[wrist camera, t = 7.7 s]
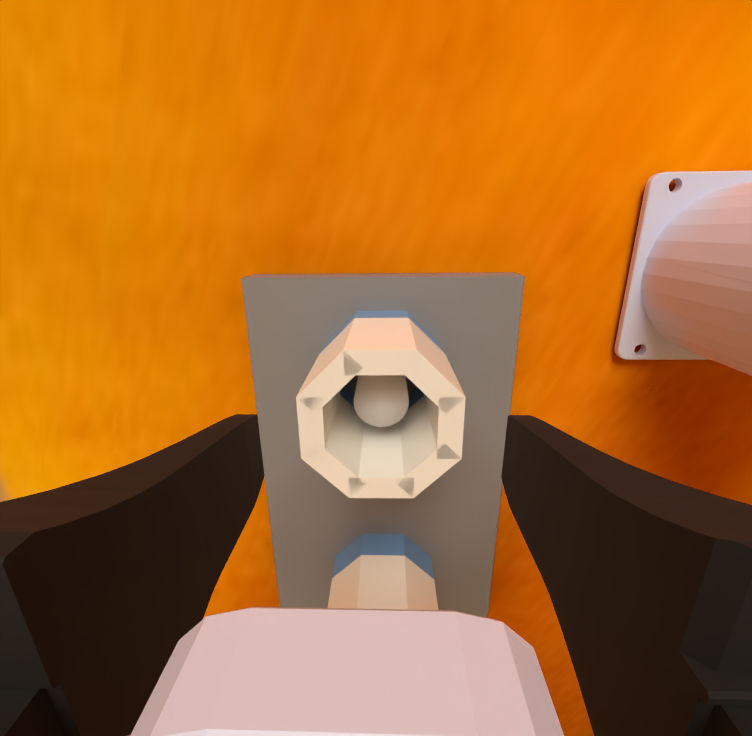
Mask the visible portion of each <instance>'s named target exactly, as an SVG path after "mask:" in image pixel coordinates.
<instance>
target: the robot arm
mask: <svg viewBox="0 0 752 736" xmlns="http://www.w3.org/2000/svg"><path fill="white" fill-rule="evenodd" d="M672 180H674V181H675V188H674V190H673V191H672V192H671V191H670V190H669V184H670V182H671V181H672ZM640 344H641V349H640V350H639V351H638V352H636V353H635V351H634V350H635V348H636V346H638V345H640ZM614 349H615V353H616V355H617V356H619V357H620V358H622V359H626V360H713V361H715V362H718V363H720V364H723V365H725V366H728V367H730V368H733V369H735V370H738V371H740V372H743V373H745V374H748V375H750V376H752V171H706V172H663V173H658V174H655V175H653V176H652V177H650V178H649V180H648V181H647V183H646V186H645V190H644V196H643V201H642V206H641V211H640V217H639V222H638V227H637V232H636V238H635V243H634V248H633V253H632V259H631V264H630V269H629V274H628V280H627V285H626V290H625V295H624V300H623V306H622V311H621V316H620V321H619V327H618V332H617V337H616V342H615V348H614ZM501 478H502V482H503V485H504V489H505V492H506V496H507V499H508V502H509V505H510V508H511V510H512V513H513V515H514V517H515V519H516V522H517V524H518V526H519V528H520V530H521V533H522V535H523V537H524V539H525V541H526V543H527V545H528V548H529V550H530V552H531V554H532V556H533V558H534V560H535V563H536V565H537V567H538V569H539V571H540V573H541V575H542V578H543V580H544V582H545V585H546V587H547V590H548V592H549V594H550V597H551V600H552V603H553V606H554V609H555V612H556V615H557V617H558V620H559V623H560V626H561V629H562V632H563V635H564V638H565V641H566V644H567V647H568V651H569V654H570V657H571V660H572V663H573V666H574V669H575V672H576V676H577V679H578V682H579V685H580V689H581V692H582V695H583V699H584V702H585V706H586V709H587V712H588V716H589V719H590V723H591V726H592V729H593V733H594V736H752V505H749V504H745V503H742V502H738V501H734V500H731V499H727V498H724V497H720V496H717V495H713V494H710V493H707V492H704V491H701V490H697V489H694V488H691V487H688V486H685V485H682V484H679V483H676V482H673V481H670V480H667V479H665V478H662V477H659V476H657V475H654V474H652V473H649V472H647V471H644V470H641V469H639V468H636V467H634V466H632V465H629V464H627V463H625V462H623V461H620V460H618V459H616V458H614V457H612V456H610V455H608V454H605V453H603V452H601V451H599V450H597V449H595V448H593V447H591V446H589V445H587V444H585V443H583V442H582V441H580V440H578V439H576V438H574V437H572V436H570V435H568V434H566V433H565V432H563V431H561V430H559V429H557V428H555V427H553V426H552V425H550V424H548V423H546V422H544V421H542V420H540V419H537V418H535V417H533V416H530V415H508V419H507V428H506V438H505V447H504V456H503V466H502V475H501ZM263 479H264V467H263V458H262V450H261V441H260V433H259V424H258V416H257V415H242V414H237V415H234V416H231V417H228V418H226V419H224V420H222V421H219V422H217V423H215V424H213V425H211V426H209V427H207V428H205V429H204V430H202V431H200V432H198V433H196V434H194V435H192V436H190V437H188V438H186V439H184V440H182V441H180V442H178V443H175V444H173V445H171V446H169V447H167V448H165V449H163V450H161V451H158V452H156V453H154V454H152V455H150V456H148V457H145V458H143V459H141V460H138V461H136V462H133V463H131V464H128V465H126V466H123V467H120V468H118V469H115V470H112V471H110V472H107V473H104V474H101V475H98V476H95V477H92V478H88V479H85V480H82V481H79V482H75V483H72V484H69V485H66V486H62V487H59V488H56V489H52V490H49V491H45V492H41V493H37V494H33V495H29V496H25V497H21V498H17V499H12V500H8V501H4V502H0V736H564V734H563V731H562V728H561V725H560V722H559V720H558V717H557V714H556V711H555V708H554V705H553V702H552V699H551V697H550V694H549V691H548V688H547V685H546V682H545V679H544V676H543V673H542V671H541V668H540V665H539V662H538V659H537V656H536V653H535V650H534V648H533V647H532V646H531V645H530V644H529V643H527V642H526V641H525V640H524V639H523V638H521V637H520V636H519V635H518V634H516V633H515V632H514V631H513V630H512V629H510V628H509V627H508V626H507V625H506V624H504V623H503V622H501V621H498V620H495V619H491V618H486V617H482V616H477V615H473V614H468V613H464V612H459V611H454V610H404V609H349V608H294V607H251V608H245V609H240V610H235V611H230V612H224V613H219V614H214V615H210V616H206V617H205V618H204V619H203V617H204V614H205V611H206V609H207V606H208V603H209V601H210V598H211V595H212V593H213V590H214V588H215V585H216V583H217V581H218V579H219V577H220V574H221V572H222V570H223V568H224V566H225V564H226V562H227V560H228V558H229V556H230V554H231V552H232V550H233V548H234V546H235V544H236V542H237V540H238V538H239V536H240V534H241V532H242V530H243V528H244V526H245V524H246V522H247V520H248V518H249V516H250V514H251V512H252V510H253V508H254V506H255V503H256V500H257V497H258V494H259V492H260V488H261V485H262V482H263ZM202 619H203V620H202Z"/></svg>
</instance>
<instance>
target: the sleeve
mask: <svg viewBox="0 0 752 736" xmlns="http://www.w3.org/2000/svg"><path fill="white" fill-rule="evenodd" d="M355 375H405V376H406V377H407V378H408V379H410V380H411V381H412V382H413V383H414V384H415V385H416V386H417V387H416V388H415V389H414V390H413V391H412V392H410V393H409V394H408V398H409V406H408V410H407V412H406V414H405V415H404V417H403V418H402V419H401V420H400V421H399V422H397V423H395V424H393V425H391V426H387V427H376V426H372V425H369V424H367V423H366V422H364V421H363V420H362V419H361V418H360V417H359V416H358V415H357V413H356V411H355V408H354V395H355V392H354V391H353V390H351V389H350V388H349V387H348V386H347V385H346V384H347V383H348V382H349V381H350V380H351V379H352V378H353V377H354V376H355ZM465 399H466V397H465V395H464V393H463V391H462V388H461V386H460V384H459V382H458V380H457V378H456V376H455V374H454V371H453V369H452V367H451V365H450V363H449V361H448V359H447V357H446V355H445V352H444V350H443V348H442V346H441V344H440V343H439V342H438V341H437V340H436V339H435V338H434V337H433V336H432V335H431V334H430V333H429V332H428V331H427V330H426V329H425V328H424V327H423V326H422V325H421V324H420V323H419V322H418V321H417V320H416V319H415V318H414V317H413V316H412V315H411V314H410V313H409V312H408V311H357V312H356V313H355V314H354V315H353V316H352V317H351V318H350V319H349V320H348V321H347V322H346V323H345V324H344V325H343V326H342V327H341V328H340V329H339V330H338V331H337V332H336V333H335V334H334V335H333V336H332V337H331V338H330V339H329V340H328V342H327V343H326V344H325V345H324V346H323V348H322V350H321V352H320V354H319V356H318V357H317V359H316V361H315V363H314V365H313V367H312V369H311V370H310V372H309V374H308V376H307V378H306V380H305V382H304V383H303V385H302V387H301V389H300V391H299V393H298V395H297V396H296V404H297V416H298V428H299V440H300V452H301V459H302V460H303V461H305V462H306V463H307V464H308V465H310V466H311V467H312V468H313V469H314V470H316V471H317V472H318V473H319V474H321V475H322V476H323V477H324V478H325V479H327V480H328V481H329V482H330V483H332V484H333V485H334V486H335V487H336V488H338V489H339V490H340V491H341V492H343V493H344V494H345V495H346V496H347V497H349V498H414V497H416V496H417V495H418V494H419V493H421V492H422V491H423V490H424V489H425V488H427V487H428V486H429V485H430V484H432V483H433V482H434V481H435V480H436V479H438V478H439V477H440V476H441V475H443V474H444V473H445V472H446V471H447V470H449V469H450V468H451V467H452V466H454V465H455V464H456V463H457V462H458V461H460V460H461V459H462V445H463V430H464V415H465Z"/></svg>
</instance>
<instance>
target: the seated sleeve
mask: <svg viewBox="0 0 752 736" xmlns="http://www.w3.org/2000/svg"><path fill="white" fill-rule="evenodd" d="M328 608H349V609H404V610H438V603H437V596H436V588H435V581H434V574H433V567H432V559H431V556H430V555H428V554H427V553H426V552H425V551H423V550H422V549H421V548H420V547H419V546H417V545H416V544H415V543H414V542H413V541H411V540H410V539H409V538H408V537H407V536H405V535H404V534H365V533H363V534H362V535H360V536H359V537H358V538H357V539H356V540H354V541H353V542H352V543H351V544H349V545H348V546H347V547H346V548H345V549H343V550H342V551H341V552H340V553H338V554H337V555H336V557H335V563H334V570H333V576H332V582H331V589H330V595H329V602H328Z"/></svg>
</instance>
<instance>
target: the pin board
mask: <svg viewBox="0 0 752 736" xmlns="http://www.w3.org/2000/svg"><path fill="white" fill-rule="evenodd" d="M524 279H525V276H523V275H520V274H517V273H390V274H259V275H250V276H247V277H244V278H242V287H243V295H244V304H245V312H246V321H247V329H248V338H249V347H250V355H251V364H252V372H253V381H254V389H255V398H256V406H257V415H258V423H259V432H260V440H261V449H262V458H263V466H264V475H265V483H266V492H267V500H268V509H269V517H270V526H271V534H272V543H273V551H274V560H275V569H276V577H277V586H278V594H279V603H280V607H294V608H328V602H329V595H330V589H331V582H332V576H333V570H334V563H335V557H336V555H337V554H338V553H340V552H341V551H342V550H343V549H345V548H346V547H347V546H348V545H349V544H351V543H352V542H353V541H354V540H356V539H357V538H358V537H359V536H360V535H362V534H363V533H365V534H404V535H405V536H407V537H408V538H409V539H410V540H411V541H413V542H414V543H415V544H416V545H417V546H419V547H420V548H421V549H422V550H423V551H425V552H426V553H427V554H428V555H430V556H431V559H432V567H433V574H434V581H435V588H436V596H437V603H438V610H454V611H459V612H464V613H468V614H473V615H477V616H482V617H486V618H488V610H489V601H490V592H491V583H492V573H493V564H494V555H495V546H496V537H497V527H498V518H499V509H500V500H501V491H502V478H501V475H502V466H503V456H504V447H505V438H506V428H507V419H508V415H510V408H511V398H512V389H513V380H514V371H515V362H516V352H517V343H518V334H519V325H520V316H521V306H522V297H523V288H524ZM357 311H408V312H409V313H410V314H411V315H412V316H413V317H414V318H415V319H416V320H417V321H418V322H419V323H420V324H421V325H422V326H423V327H424V328H425V329H426V330H427V331H428V332H429V333H430V334H431V335H432V336H433V337H434V338H435V339H436V340H437V341H438V342H439V343H440V344H441V346H442V348H443V350H444V352H445V355H446V357H447V359H448V361H449V363H450V365H451V367H452V369H453V371H454V374H455V376H456V378H457V380H458V382H459V384H460V386H461V388H462V391H463V393H464V395H465V397H466V399H465V415H464V430H463V445H462V459H461V460H460V461H458V462H457V463H456V464H455V465H454V466H452V467H451V468H450V469H449V470H447V471H446V472H445V473H444V474H443V475H441V476H440V477H439V478H438V479H436V480H435V481H434V482H433V483H432V484H430V485H429V486H428V487H427V488H425V489H424V490H423V491H422V492H421V493H419V494H418V495H417V496H416V497H414V498H349V497H347V496H346V495H345V494H344V493H343V492H341V491H340V490H339V489H338V488H336V487H335V486H334V485H333V484H332V483H330V482H329V481H328V480H327V479H325V478H324V477H323V476H322V475H321V474H319V473H318V472H317V471H316V470H314V469H313V468H312V467H311V466H310V465H308V464H307V463H306V462H305V461H303V460H302V459H301V452H300V440H299V428H298V416H297V404H296V396H297V395H298V393H299V391H300V389H301V387H302V385H303V383H304V382H305V380H306V378H307V376H308V374H309V372H310V370H311V369H312V367H313V365H314V363H315V361H316V359H317V357H318V356H319V354H320V352H321V350H322V348H323V346H324V345H325V344H326V343H327V342H328V340H329V339H330V338H331V337H332V336H333V335H334V334H335V333H336V332H337V331H338V330H339V329H340V328H341V327H342V326H343V325H344V324H345V323H346V322H347V321H348V320H349V319H350V318H351V317H352V316H353V315H354V314H355V313H356V312H357ZM346 385H347V386H348V387H349V388H350V389H351V390H353V391H354V392H355V395H354V408H355V411H356V413H357V415H358V416H359V417H360V418H361V419H362V420H363V421H364V422H366V423H367V424H369V425H372V426H376V427H387V426H391V425H393V424H395V423H397V422H399V421H400V420H401V419H402V418H403V417H404V415H405V414H406V412H407V410H408V406H409V398H408V394H409V393H410V392H412V391H413V390H414V389H415V388H416V387H417V386H416V385H415V384H414V383H413V382H412V381H411V380H410V379H408V378H407V377H406V376H405V375H355V376H354V377H353V378H352V379H351V380H350V381H349V382H348V383H347V384H346Z"/></svg>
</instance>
